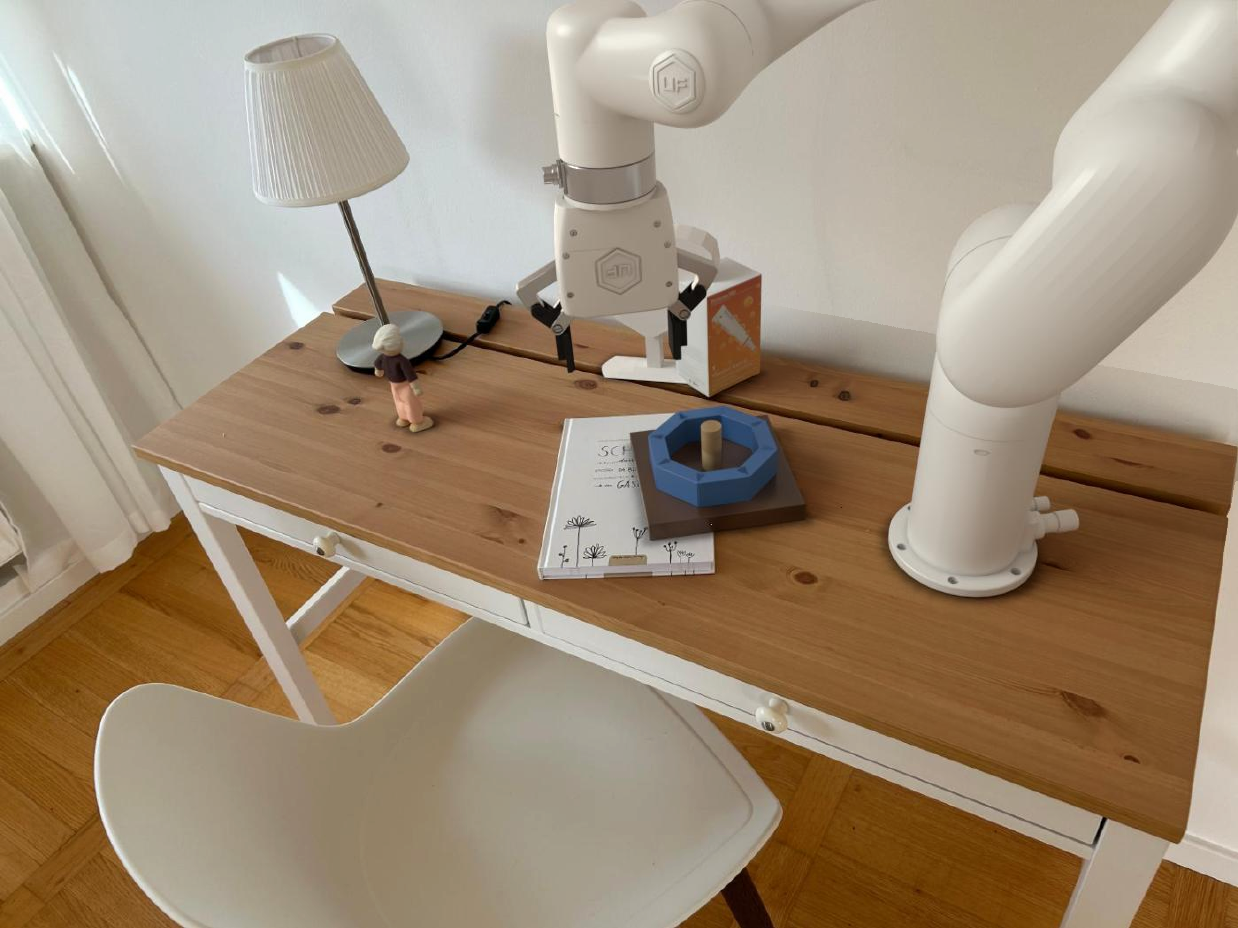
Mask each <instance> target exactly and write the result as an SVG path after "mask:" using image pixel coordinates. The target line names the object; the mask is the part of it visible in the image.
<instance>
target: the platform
mask: <svg viewBox="0 0 1238 928" xmlns="http://www.w3.org/2000/svg"><path fill="white" fill-rule="evenodd" d="M753 416H754V417H757V418H760V419H763V420H765V421H766V423H767V425H768V428H769V430H770V432H771V435H772V437H773V440H774V442H775V444H776V447H777V473H776V474H775V475H774V476H773V477H772V479H771V480H770V481H769V482H768V483H767V484H766V485H765V486H764V487H763V488H762V489H761V490H760V491H759V492H758V493H757V494H756V495H755V496H754V497H753V498H752V499H751V500H749V501H744V502H736V503H729V504H721V505H714V506H707V507H697V506H694V505H692V504H690V503H687V502H685V501H683V500H681V499H678V498H676V497H674V496H671V495H669V494H667V493H665V492H662V491H660V490H658V489H657V488H656V484H655V479H654V475H653V470H652V466H651V462H650V453H649V440H648V436H649V435H650V434H651V433H652V432H653V431H655V430H656V429H657V428H655V429H649V430H647V429H646V430H640V431H633V432H629V440H630V441H629V442H630V449H631V454H632V459H633V466H634V469H635V475H636V478H637V484H638V489H639V494H640V499H641V503H642V509H643V514H644V519H645V524H646V528H647V533H648V537H649V541H650V542H651V541H656V540H657V541H658V540H664V539H671V538H680V537H685V536H686V537H687V536H694V535H701V534H709V533H716V532H723V531H731V530H739V529H744V528H753V527H760V526H767V525H775V524H782V523H789V522H797V521H803V520H805V519H806V506H807V505H806V502H805V499H804V497H803V494H802V493H801V492H802V491H801V490H800V488H799V485H798V483H797V481H796V478H795V476H794V473H793V471H792V469H791V467H790V464H789V461H788V459H787V457H786V455H785V453H784V450H783V447H782V445H781V443H780V441H779V438H778V435H777V433H776V431H775V428H774V427H773V424H772V422H771V420H770V417H769V415H768V414H763V415H762V414H761V415H753ZM752 455H753V453H752V450H751V449H749V448H747V447H744V446H742V445H739V444H736V443H734V442H731V441H729V440H726V439H723V438H722V425H721V423H720V422H718V421H715V420H708V421H705V422H703V423H702V425H701V441H693V442H687V443H685V444H684V445H683V446H682V447H681V448H680V449H679V450H678V451H676V452H675V453H674V454H673V455H672V456H671V457H670V460H672V461H675V462H677V463H679V464H682V465H684V466H687V467H689V468H692V469H694V470H696V471H699V472H708V471H716V470H723V469H730V468H738V467H740V466H741V465H743V464H744V463H745V462H746V461H747V460H748V459H749V458H750V457H751V456H752ZM711 524H712V525H711Z"/></svg>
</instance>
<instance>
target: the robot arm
mask: <svg viewBox="0 0 1238 928" xmlns="http://www.w3.org/2000/svg"><path fill="white" fill-rule="evenodd" d="M874 1H875V0H682V1H681V2H680V3H678V4H676V6H674V7H673V8H670V9H668V10H666V11H664V12H662V13H661V12H660V13H658V14H657V15H654V16H648V15H647V13H646V11H645V10H644V9H643V8H642V6H641V5H639V4H638V3H636V2H634V1H632V0H577V1H572V2H570V3H566V4H564V5H561V6H560V7H558V8H556V9H555V10H554V11H553V12H552V13H551V14H550V15H549V17H548V20H547V24H546V29H545V35H546V38H545V39H546V49H547V57H548V58H547V59H548V68H549V76H550V77H549V78H550V84H551V85H550V86H551V93H552V94H551V95H552V103H553V111H554V112H553V113H554V122H555V130H556V139H557V147H558V158H559V159H555V162H556V163H551V165H549V166H542V167H541V168H542V175H543V184H544V185H551V184H553V186H558V188H559V190H558V191H557V193H556V194H555V201H554V210H553V211H554V212H553V246H554V247H553V249H554V259H553V260H552V261H550V262H548V263H547V264H545V265H543V266H542V267H540V268H539V269H537V270H535V271H534V272H533V273H531V274H529V275H528V276H526V277H525V278H523V279H521V280H520V281H518V282H517V283H516V285H515V292H516V294H515V295H516V296H517V298H518V299H519V300H520V301H521V303H522V304H523V305H524V306H525V308H526V309H527V310H528V311H529V312H530V314H531V316H532V318H534V319H535V320H537V321H538V322H540V323H541V324H543V326H545V327H547V328H548V329H549V330H550V332H551V333H552V334H553V335H554V338H555V345H556V352H557V360H558V362H562V361H565V362H566V369H567V374H572V373H574V372H575V371H576V365H575V355H574V347H573V339H572V331H571V323H572V322H573V321H574V320H575V319H591V318H602V317H612V315H621V314H630V313H638V312H646V311H654V310H660V309H664V308H668V309H667V315H668V330H667V336H668V346H669V350H670V353H671V357H672V360H681V347H682V346H687V319H689V318H690V316H691V312H692V311H693V310H694V309H695V308H696V307H697V305H698V304H699V303H700V302H701V301H702V300H703V299H704V298H705V297H706V295H707V290H708V288H710V286H711V284H712V282H713V280H714V278H715V276H716V274H717V272H718V270H717V267H716V265H715V263H714V261H712V260H710V259H707V258H704V257H701V256H699V255H696V254H693V253H691V252H688V251H685V250H683V249H680V248H677V247H676V242H675V233H674V225H673V223H674V217H673V213H672V207H671V203H670V198H669V194H668V192H667V187H665V186H664V184H663V183H662V182H661V181H660V180H658V179H657V168H656V167H657V166H656V163H657V162H656V143H655V124H657V125H662V126H666V127H669V128H670V127H671V128H676V129H686V130H687V129H698V128H702V127H706V126H708V125H710V124H712V123H714V122H716V121H717V120H719V119H720V118H721V117H723V115H725V114H726V112H728V110H729V109H730V108H731V107H732V105H733V104H734V103H735V102H736V101H737V100H738V98H740V96H741V95H742V93H743V92H744V91H745V90H746V88H747V87H748V86H749V85H750V84H751V82H752V81H753V80H754V79H755V78H756V77H757V76H758V75H759V74H760V73H762V71H764V70H765V69H767V68H768V67H769V66H770V65H772V64H773V63H774V62H775V61H777V60H778V59H779V58H781V57H783V56H784V55H785V54H787V53H789V51H791V50H792V49H794V48H795V47H797V46H798V45H800V44H801V43H802V42H804V41H805V40H807V39H808V38H809V37H811V36H813V35H814V34H816V32H817V33H818V31H819V30H821V29H823V28H824V27H826V26H827V25H828V24H830V23H832V22H833V21H835V20H836V19H838V18H840V17H842V16H843V15H845V14H847V13H848V12H850V11H852V10H854V9H856V8H859V7H860V6H862V5H864V4H867V3H870V2H874ZM1237 151H1238V0H1172V1H1171V2H1170V3H1169V5H1168V6H1167V7H1166V9H1165V10H1164V11H1163V12H1162V14H1161V15H1160V16H1159V17H1158V18H1157V19H1156V21H1155V22H1154V23H1153V24H1152V26H1150V28H1149V29H1148V30H1147V31H1146V33H1144V35H1143V36H1142V37H1141V38H1140V40H1139V41H1138V42H1136V44H1135V45H1134V46H1133V47H1132V49H1131V50H1130V51H1129V52H1128V53H1127V54H1126V55H1125V57H1124V58H1123V59H1122V60H1121V61H1120V63H1119V64H1118V65H1117V66H1115V68H1114V70H1113V71H1111V73H1110V74H1109V75H1108V76H1107V78H1106V79H1105V80H1104V81H1103V82H1102V83H1101V84H1100V85H1099V86H1098V87H1097V88H1096V90H1094V92H1093V93H1092V94H1091V95H1090V96H1089V97H1088V98H1087V99H1086V100H1085V101H1084V102H1083V104H1082V105H1081V106H1080V107H1079V108H1078V109H1077V110H1076V111H1075V113H1074V114H1073V115H1072V116H1071V118H1070V119H1069V121H1068V122H1067V123H1066V125H1065V126H1064V128H1063V129H1062V131H1061V133H1060V135H1059V138H1058V140H1057V143H1056V145H1055V149H1054V153H1053V162H1052V177H1051V180H1052V181H1051V190H1050V191H1048V193H1047V195H1045V197H1044V199H1043V200H1042V201H1041V202H1034V201H1016V202H1010V203H1006V204H1002V205H1000V206H997V207H994V208H992V209H990V210H989V211H987V212H985V213H984V214H982V215H980V216H979V217H978V218H977V219H975V220H974V221H973V222H971V224H970V225H969V226H968V227H967V228H966V229H965V230H964V232H963V233H962V234H961V236H960V237H959V239H958V240H957V242H956V243H955V245H954V247H953V249H952V252H951V254H950V257H949V260H948V262H947V267H946V272H945V278H944V283H943V288H942V293H941V302H940V308H939V313H938V318H937V324H936V331H935V332H936V334H935V353H934V359H933V365H932V371H931V375H930V383H929V388H928V389H929V390H928V396H927V400H926V407H925V411H924V412H925V413H924V417H923V425H922V431H921V438H920V444H919V451H918V455H917V456H918V457H917V463H916V468H915V469H916V470H915V476H914V482H913V487H912V488H913V489H912V495H911V501H910V502H909V503H906V504H905V505H903V506H902V507H901V508H900V509H899V510H897V512H896V513H895V514H894V516H893V517H892V520H891V521H890V524H889V527H888V535H887V542H888V549H889V551H890V554H891V555H892V556H891V557H892V558H893V560H894V561H895V562H896V563H897V565H898V566H899V567H900V569H902V570H903V571H904V573H906V574H907V575H908V576H910V577H911V578H912V579H914V580H916V581H917V582H919V583H920V584H922V585H925V586H926V587H928V588H930V589H933V590H935V591H938V592H942V593H945V594H948V595H954V596H959V597H967V598H968V597H969V598H985V597H994V596H998V595H1002V594H1006V593H1009V592H1010V591H1013V590H1016V589H1017V588H1018V587H1020V586H1021V585H1022V584H1024V583H1025V582H1027V580H1028V579H1029V578H1030V577H1031V576H1032V574H1033V571H1034V569H1035V566H1036V562H1037V558H1038V545H1037V541H1036V540H1041V539H1043V538H1044V537H1045V534H1049V533H1050V534H1051V533H1055V534H1060V533H1068V532H1075V531H1077V530H1079V526H1080V519H1079V515H1078V513H1077V511H1076V510H1075V509H1074V508H1068V509H1063V510H1062V509H1061V510H1055V511H1050V512H1049V513H1041V512H1048V511H1049V510H1050V509H1051V502H1050V499H1049V497H1048V496H1046V495H1042V496H1035V497H1034V495H1035V491H1036V487H1037V483H1038V480H1039V476H1040V472H1041V469H1042V465H1043V460H1044V457H1045V453H1046V449H1047V445H1048V441H1049V437H1050V433H1051V430H1052V427H1053V423H1054V421H1055V419H1056V418H1055V417H1056V414H1057V410H1058V407H1059V403H1060V400H1061V399H1060V398H1061V395H1062V393H1063V392H1065V391H1066V390H1067V389H1069V388H1070V387H1072V386H1073V385H1074V384H1076V383H1077V382H1079V381H1080V380H1081V379H1083V377H1085V376H1086V375H1087V374H1089V372H1091V371H1092V370H1093V369H1094V368H1096V367H1097V366H1098V365H1099V364H1100V363H1101V362H1102V361H1104V359H1106V358H1107V357H1108V356H1109V355H1110V354H1111V353H1112V352H1113V351H1115V350H1116V349H1117V348H1118V347H1119V346H1120V345H1121V344H1123V342H1125V341H1126V340H1127V339H1129V337H1130V336H1132V334H1134V333H1135V332H1136V331H1137V330H1138V329H1139V328H1141V327H1142V326H1143V325H1144V324H1145V323H1146V322H1148V321H1149V319H1150V318H1152V317H1153V316H1154V315H1155V314H1156V313H1157V312H1158V311H1159V310H1160V309H1161V308H1163V306H1165V305H1166V304H1167V303H1168V302H1169V301H1171V299H1173V298H1174V297H1175V296H1176V295H1177V294H1179V292H1180V291H1181V290H1183V288H1185V286H1187V285H1188V284H1189V283H1190V282H1191V281H1192V280H1193V279H1194V278H1195V277H1196V276H1197V275H1199V273H1200V272H1201V271H1202V270H1203V269H1204V268H1205V267H1206V266H1207V265H1208V263H1209V262H1210V261H1211V260H1212V258H1213V257H1214V256H1215V255H1216V254H1217V252H1218V251H1219V249H1220V248H1221V246H1222V245H1223V244H1224V242H1225V241H1226V239H1227V237H1228V235H1229V234H1230V232H1231V230H1232V228H1233V227H1234V224H1235V221H1236V220H1237V217H1238V152H1237ZM678 268H681V269H683V270H686V271H689V272H692V273H695V274H696V276H695V279H694V281H692V282H691V283H690V284H689V285H688V286H687V287H686V288H685V290H684V291H683V292H682V293H681V292H680V291H679V280H678ZM554 283H556V284H557V285H556V286H557V292H558V299H557V301H556V302H555V304H554V305H551V304H549V303H548V302H547V301H545V299H543V298H541V296H539V294H538V293H539V292H541V291H543V290H544V289H546V288H547V287H549V286H551V285H553V284H554Z"/></svg>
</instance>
